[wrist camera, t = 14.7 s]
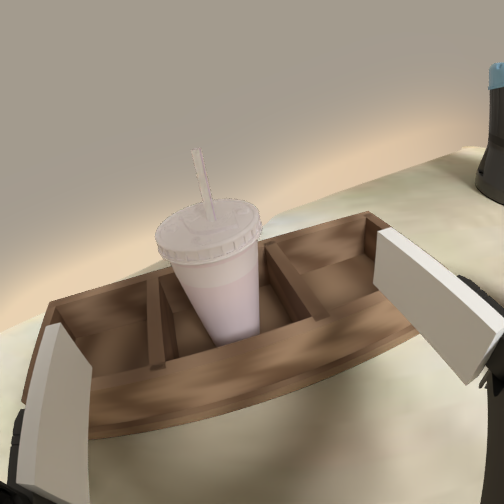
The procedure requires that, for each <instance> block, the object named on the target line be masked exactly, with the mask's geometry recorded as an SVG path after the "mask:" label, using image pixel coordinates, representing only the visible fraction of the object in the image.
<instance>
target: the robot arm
mask: <svg viewBox="0 0 504 504" xmlns="http://www.w3.org/2000/svg"><path fill="white" fill-rule="evenodd" d="M488 90H490V115H489V138H488V145H487V148H486V150H485V153H484V155H483V158H482V160H481V163H480V165H479V167H478V170H477V173H476V182H475V184H476V187H477V188H478V189H479V190H480V191H481V192H482V193H483V194H485V195H486V196H488V197H489V198H491V199H493V200H495V201H497V202H499V203H501V204H503V205H504V63H494V64H493V65H491V67H490V69H489V87H488ZM373 284H374V285H375V286H376V287H377V288H378V289H379V290H380V291H381V292H382V293H383V294H384V295H385V297H386V298H387V299H388V300H389V301H390V302H391V303H392V304H393V305H394V306H395V307H396V308H397V309H398V310H399V311H400V312H401V313H402V314H403V315H404V316H405V318H406V319H407V320H408V321H409V322H410V323H411V324H412V325H413V326H414V327H415V328H416V329H417V331H418V332H419V333H420V334H421V335H422V336H423V337H424V338H425V339H426V340H427V342H428V343H429V344H430V345H431V346H432V347H433V348H434V349H435V350H436V352H437V353H438V354H439V355H440V356H441V357H442V358H443V360H444V361H445V362H446V363H447V364H448V365H449V367H450V368H451V369H452V370H453V371H454V372H455V373H456V375H457V376H458V377H459V378H460V379H461V381H462V382H463V383H464V384H465V385H468V384H469V383H470V382H471V381H473V380H474V379H475V378H476V377H478V376H479V374H480V373H481V371H482V370H483V368H484V366H485V365H486V366H487V367H488V371H487V372H486V374H485V376H484V377H483V379H482V380H481V382H480V383H479V388H482V386H483V385H484V383H485V382H486V381H487V384H486V386H485V389H487V395H488V436H487V454H486V466H485V475H484V483H483V490H482V497H481V503H480V504H504V308H503V307H502V306H500V305H499V304H498V303H497V302H496V301H495V300H494V299H492V298H491V297H490V296H488V295H487V293H485V292H484V291H483V290H480V287H478V286H477V285H476V284H475V283H474V282H472V281H471V280H469V279H467V278H465V277H463V276H461V275H458V276H455V275H454V274H453V273H451V272H450V271H449V270H448V269H447V268H445V267H444V266H443V265H441V264H440V263H439V262H438V261H436V260H435V259H434V258H433V257H431V256H430V255H429V254H427V253H426V252H425V251H423V250H422V249H421V248H419V247H418V246H417V245H415V244H414V243H413V242H411V241H410V240H409V239H407V238H406V237H405V236H403V235H402V234H400V233H399V232H398V231H396V230H395V229H393V228H392V227H390V228H386V229H383V230H380V231H377V245H376V258H375V268H374V278H373ZM91 377H92V366H91V365H90V364H89V362H88V361H87V360H86V358H85V357H84V355H83V354H82V353H81V351H80V350H79V349H78V347H77V346H76V344H75V343H74V341H73V340H72V339H71V337H70V336H69V334H68V333H67V331H66V330H65V328H64V327H63V325H62V324H61V322H60V323H56V324H52V325H48V326H46V328H45V331H44V334H43V337H42V341H41V344H40V348H39V351H38V355H37V358H36V362H35V366H34V370H33V374H32V378H31V382H30V387H29V391H28V396H27V401H26V406H25V409H20V411H19V413H18V415H17V418H16V420H15V422H14V428H13V436H12V441H11V444H12V447H11V449H10V457H9V467H8V480H7V485H6V484H5V483H3V482H1V481H0V504H90V495H89V476H88V423H89V403H90V389H91Z"/></svg>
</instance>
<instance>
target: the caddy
mask: <svg viewBox="0 0 504 504" xmlns="http://www.w3.org/2000/svg"><path fill="white" fill-rule="evenodd" d="M390 227H391V226H390V225H388V224H387V223H385V222H384V221H383V220H381V219H380V218H378V217H377V216H375V215H374V214H372V213H371V212H369V211H366V212H362V213H359V214H355V215H352V216H348V217H344V218H341V219H337V220H333V221H330V222H326V223H323V224H319V225H315V226H312V227H308V228H305V229H301V230H297V231H294V232H290V233H287V234H283V235H280V236H276V237H272V238H269V239H265V240H262V241H258V275H259V318H260V334H259V335H256V336H253V337H250V338H247V339H244V340H241V341H237V342H234V343H231V344H227V345H224V346H221V347H217V346H216V345H215V344H214V342H213V341H212V339H211V337H210V336H209V334H208V332H207V330H206V329H205V327H204V325H203V323H202V322H201V320H200V318H199V316H198V314H197V313H196V311H195V309H194V307H193V305H192V304H191V302H190V300H189V298H188V296H187V294H186V293H185V291H184V289H183V287H182V285H181V283H180V281H179V279H178V278H177V276H176V274H175V272H174V270H173V268H172V266H171V267H167V268H164V269H160V270H157V271H153V272H150V273H146V274H143V275H140V276H136V277H133V278H129V279H126V280H122V281H119V282H116V283H112V284H109V285H105V286H103V287H99V288H95V289H92V290H88V291H85V292H82V293H78V294H75V295H72V296H68V297H65V298H62V299H58V300H55V301H51V302H50V303H49V305H48V308H47V311H46V313H45V316H44V319H43V322H42V325H41V328H40V331H39V334H38V338H37V341H36V344H35V348H34V351H33V355H32V358H31V362H30V366H29V369H28V373H27V377H26V381H25V386H24V390H23V395H22V399H21V401H22V402H23V403H24V404H25V405H26V401H27V396H28V391H29V387H30V382H31V378H32V374H33V370H34V366H35V362H36V358H37V355H38V351H39V348H40V344H41V341H42V337H43V334H44V331H45V328H46V326H48V325H52V324H56V323H60V322H61V324H62V325H63V327H64V328H65V330H66V331H67V333H68V334H69V336H70V337H71V339H72V340H73V341H74V343H75V344H76V346H77V347H78V349H79V350H80V351H81V353H82V354H83V355H84V357H85V358H86V360H87V361H88V362H89V364H90V365H91V366H92V377H91V389H90V403H89V423H88V440H92V439H101V438H109V437H116V436H123V435H130V434H136V433H142V432H148V431H153V430H158V429H163V428H168V427H173V426H178V425H182V424H186V423H191V422H195V421H199V420H203V419H207V418H211V417H214V416H218V415H222V414H225V413H229V412H232V411H236V410H239V409H243V408H246V407H249V406H252V405H255V404H259V403H262V402H265V401H268V400H271V399H274V398H276V397H279V396H282V395H285V394H288V393H291V392H293V391H296V390H299V389H301V388H304V387H307V386H309V385H312V384H314V383H317V382H319V381H322V380H324V379H327V378H329V377H331V376H334V375H336V374H338V373H341V372H343V371H345V370H348V369H350V368H352V367H354V366H356V365H359V364H361V363H363V362H365V361H367V360H369V359H371V358H373V357H376V356H378V355H380V354H382V353H384V352H386V351H388V350H390V349H392V348H394V347H395V346H397V345H399V344H401V343H403V342H405V341H407V340H409V339H411V338H412V337H414V336H416V335H418V334H420V333H419V332H418V331H417V329H416V328H415V327H414V326H413V325H412V324H411V323H410V322H409V321H408V320H407V319H406V318H405V316H404V315H403V314H402V313H401V312H400V311H399V310H398V309H397V308H396V307H395V306H394V305H393V304H392V303H391V302H390V301H389V300H388V299H387V298H386V297H385V295H384V294H383V293H382V292H381V291H380V290H379V289H378V288H377V287H376V286H375V285H374V284H373V278H374V268H375V258H376V245H377V231H380V230H383V229H386V228H390ZM392 228H393V227H392ZM393 229H394V228H393ZM396 231H397V230H396ZM399 233H400V232H399ZM400 234H401V233H400ZM403 236H404V235H403ZM406 238H407V237H406ZM407 239H408V238H407ZM410 241H411V240H410ZM411 242H412V241H411ZM414 244H415V243H414ZM415 245H416V244H415ZM417 246H418V245H417ZM418 247H419V246H418ZM419 248H420V247H419ZM421 249H422V248H421ZM422 250H423V249H422ZM423 251H424V250H423ZM425 252H426V251H425ZM426 253H427V252H426ZM427 254H428V253H427ZM430 256H431V255H430ZM431 257H432V256H431ZM434 259H435V258H434ZM435 260H436V259H435ZM436 261H437V260H436ZM438 262H439V261H438ZM439 263H440V262H439ZM440 264H441V263H440ZM441 265H442V264H441ZM443 266H444V265H443ZM444 267H445V266H444ZM445 268H446V267H445ZM448 270H449V269H448Z"/></svg>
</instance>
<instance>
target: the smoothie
mask: <svg viewBox="0 0 504 504" xmlns="http://www.w3.org/2000/svg"><path fill="white" fill-rule="evenodd" d="M191 152H192V157H193V161H194V166H195V170H196V174H197V179H198V183H199V187H200V191H201V196H202V200H203V202H200V203H197V204H193V205H191V206H188V207H186V208H183V209H181V210H179V211H177V212H175V213H173V214H172V215H171V216H169V217H168V218H166V219H165V220H164V221H163V222H162V223H161V224H160V226H159V227H158V228H157V230H156V233H155V239H156V242H157V245H158V251H159V253H160V255H161V256H162V258H163V259H165V260H167V261H169V262H170V264H171V266H172V268H173V270H174V272H175V274H176V276H177V278H178V279H179V281H180V283H181V285H182V287H183V289H184V291H185V293H186V294H187V296H188V298H189V300H190V302H191V304H192V305H193V307H194V309H195V311H196V313H197V314H198V316H199V318H200V320H201V322H202V323H203V325H204V327H205V329H206V330H207V332H208V334H209V336H210V337H211V339H212V341H213V342H214V344H215V345H216V346H217V347H221V346H224V345H227V344H231V343H234V342H237V341H241V340H244V339H247V338H250V337H253V336H256V335H259V334H260V318H259V275H258V240H257V239H258V238H259V236H260V234H261V231H262V223H261V221H260V215H259V211H258V209H257V208H256V206H254V205H253V204H251V203H249V202H246V201H243V200H238V199H216V200H213V199H212V194H211V190H210V186H209V181H208V176H207V172H206V167H205V163H204V158H203V154H202V148H201V147H200V148H194V149H192V150H191Z"/></svg>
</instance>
